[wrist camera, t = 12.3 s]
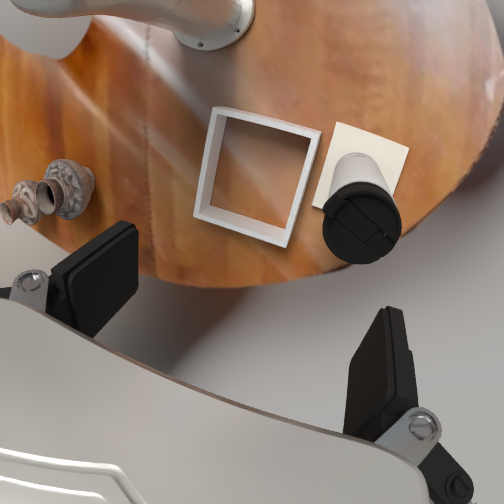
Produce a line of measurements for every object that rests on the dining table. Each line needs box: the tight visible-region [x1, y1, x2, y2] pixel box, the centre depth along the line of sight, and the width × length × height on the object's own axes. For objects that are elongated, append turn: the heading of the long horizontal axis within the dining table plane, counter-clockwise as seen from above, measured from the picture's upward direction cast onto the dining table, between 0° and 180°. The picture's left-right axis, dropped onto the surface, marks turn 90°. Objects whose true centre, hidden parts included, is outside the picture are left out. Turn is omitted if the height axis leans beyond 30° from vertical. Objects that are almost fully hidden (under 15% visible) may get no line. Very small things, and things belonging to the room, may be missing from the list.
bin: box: [193, 106, 322, 248], centre depth 43 cm, size 16×14×4 cm
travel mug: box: [322, 153, 402, 264], centre depth 31 cm, size 6×7×20 cm
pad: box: [312, 121, 409, 209], centre depth 40 cm, size 12×10×1 cm
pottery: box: [0, 159, 95, 226], centre depth 51 cm, size 11×25×12 cm, turn 102°
